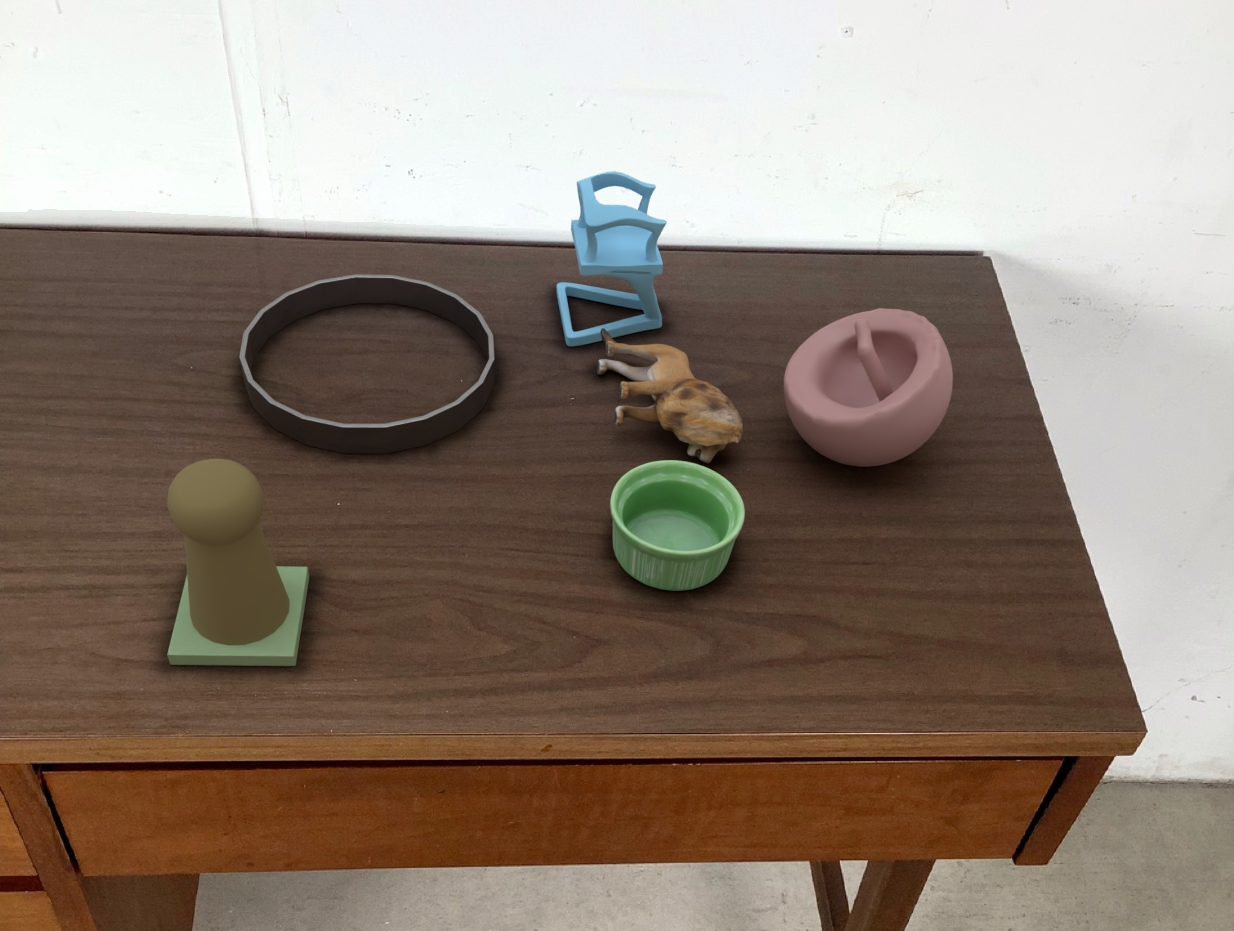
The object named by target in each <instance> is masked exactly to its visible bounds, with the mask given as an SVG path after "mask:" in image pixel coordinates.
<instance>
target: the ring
mask: <svg viewBox="0 0 1234 931" xmlns="http://www.w3.org/2000/svg"><path fill="white" fill-rule="evenodd" d="M356 304H385V305H387V304H390V305H398V306H403V307H408V308H413V309H417V310H423V311H427V312H429V313H432V314H434V315H436V316H438V317H441V318H442V319H445V320H447V321H449V322H452V323H454V324H456V325H457V326H458V327H459V328H460V329H462V330H463V331H464V332H465V333H467V334H468V335H469V336H470V337H472V338H473V340H475V341H476V343H477V344H478V346H479V347H480V349H481V351H482V353H483V355H484V356H485V359H486V360H487V362H486V364H485V366H484V368H483V370H482V373H481V374H480V377H479V378H478V380H477V381H476V383H474V384H473V385H472V386H471V387H470V388H468V390H466V391H465V392H464V393H463V394H462V395H461V396H459V397H458V398H457V399H456V400H454V401H453V402H450V403H448V404H446V405H444V406H441V407H438V408H437V409H435V410H433V411H431V412H428V413H427V414H424V415H419V416H415V417H411V418H406V419H401V420H396V421H391V422H386V423H342V422H338V421H333V420H329V419H324V418H320V417H315V416H310V415H306V414H303V413H301V412H299V411H297V410H295V409H293V408H291V407H289V406H287V405H285V404H283V403H280V402H279V401H277V400H275V399H274V398H273V397H272V396H270V395H269V394H268V392H267V391H265V389H264V388H262V387H261V386H260V385H259V384H258V383H257V382H256V381H255V380H254V378H253V375H252V371H253V364H254V359H255V358H256V357H257V355H259V352H260V351H261V350H262V349H263V347H264V346H265V344H266V342H267V341H268V340H269V338H271V337H272V336H274V335H275V334H277V333H278V332H280V331H281V330H283V329H284V328H285V327H287V326H288V325H290V324H291V323H292V322H295V321H297V320H299V319H301V318H305V317H306V316H310V315H312V314H315V313H317V312H320V311H322V310H326V309H333V308H337V307H344V306H350V305H356ZM494 343H495V341H494V334H493V333H492V331H491V329H490V327H489V326H488V324H487V322H486V320H485V319H484V316H483V315H482V313H480V311H478V310H477V309H476V308H474V306H472V305H470V303H469V302H467V301H466V300H465V299H463V298H462V297H461V296H459V295H458V294H456V293H454V292H453V291H450V290H447V289H445V288H442V287H440V286H438V285H435V284H433V283H431V282H429V281H424V280H419V279H413V278H411V277H410V278H409V277H404V276H400V275H394V274H355V273H354V274H349V275H342V276H338V277H331V278H330V277H329V278H324V279H318V280H316V281H312V282H310V283H308V284H306V285H303V286H300V287H297V288H294V289H292V290H289V291H287V292H284V293H283V294H282V295H279V297H277V298H275V299H274V300H273V301H271V302H270V303H269V304H267V305H266V306H264V307H262V308H261V309H260V310H259V311H258V312H257V314H256V315H255V316H254V318H253V319H252V320H251V322H250V323H249V325H248V326H247V327H246V329H245V330H244V332H243V334H242V339H241V344H240V349H239V350H240V351H239V357H238V358H239V364H240V368H241V373H242V374H241V375H242V379H243V380H242V381H243V384H244V387H245V389H246V392H247V393H246V394H247V396H248V399H249V400H250V404H251V407H252V409H254V410H255V411H256V413H257V414H258V415H259V416H261V417H262V418H263V420H264V421H265V422H267V423H268V424H269V425H270V427H271V428H273V429H274V430H275V431H277V432H279V433H281V434H283V435H285V436H287V437H289V438H291V439H294V440H295V441H297V442H299V443H301V444H303V445H305V446H309V447H314V448H318V449H323V450H327V451H332V452H337V453H342V454H346V455H347V454H348V455H349V454H392V453H396V452H401V451H406V450H411V449H415V448H420V447H425V446H428V445H430V444H432V443H434V442H436V441H439V440H441V439H443V438H445V437H447V436H450V435H452V434H453V433H455V432H457V431H460V430H461V429H463V428H464V427H465V426H466V425H467V424H468V423H469V422H470V421H471V420H473V418H474V417H475V416H477V415H478V414H479V413H480V412H481V411H482V410H483V409H484V407H485V405H486V403H487V402H488V399H489V396H490V394H492V390H493V389H494V387H495V344H494Z"/></svg>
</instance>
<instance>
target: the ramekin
mask: <svg viewBox="0 0 1234 931" xmlns="http://www.w3.org/2000/svg"><path fill="white" fill-rule="evenodd" d="M610 495H611V496H610V499H609V500H610V501H609V508H610V509H609V510H610V515H611V519H612V548H613V552H614V555H615V558H616V560H617V562H618V563H619V565H620V566H621V568H622V569H623V570H624V571H625V572H626V573H627V574H628V575H629V576H630V577H632V578H633V579H635V580H637V581H638V582H640V583H642V584H644V585H646V586H648V587H652V588H655V589H659V590H664V591H671V592H672V591H673V592H675V591H677V592H679V591H680V592H681V591H689V590H694V589H698V588H701V587H704V586H706V585H707V584H709V583H711V582H713V581H714V580H716V578H718V577H719V576H720V575H721V574H722V572H723V570H724V569H725V568H726V566H727V564H728V561H729V559H730V556H731V554H732V550H733V548H734V546H735V545H734V544H735V542H736V539H737V538H738V537H739V535H740V533H741V530H742V528H743V526H744V523H745V520H746V519H745V518H746V517H745V516H746V514H745V513H746V510H745V504H744V501H743V498H742V496H741V495H740V493H739V491H738V490H737V489H736V487H735V486H734V485H733V483H731V482H730V481H729V480H728V479H727V478H725V477H724V476H722V475H721V474H719V473H718V472H717V471H715V470H712V469H710V468H709V467H707V466H704V465H700V464H698V463H694V462H691V461H683V460H670V459H669V460H668V459H667V460H655V461H650V462H646V463H644V464H641V465H638V466H636V467H634V468H632V469H630V470H629V471H627V472H626V473H624V474H623V475H622V476H621V477H620V478H619V479H618V481H617V482H616V484H615V485H614V487H613V489H612V492H611V494H610Z"/></svg>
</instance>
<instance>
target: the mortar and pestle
mask: <svg viewBox="0 0 1234 931" xmlns="http://www.w3.org/2000/svg"><path fill="white" fill-rule="evenodd" d="M953 376H954V374H953V365H952V360H951V357H950V352H949V350H948V348H947V345H946V343H945V341H944V339H943V337H942V336H941V334H940V331H939V329H938V328H937V327H936V325H934V324H933V323H931V322H930V321H929V319H927V318H926V316H924V315H919V314H918V313H916V312H914V311H911V310H904V309H900V308H885V307H880V308H875V309H872V310H867V311H866V310H865V311H860V312H856V313H853V314H850V315H847V316H845V317H842V318H839V319H837V320H835V321H833V322H831V323H829V324H827V325H825V326H823V327H822V328H821V327H820V329H818V330H817V331H815V332H814V333H813V334H812V335H811V336H809V337H808V338H807V339H806V340H804V342H802V344H800V345H799V346H798V348H797V349H796V350H795V351H794V353H793V354H792V356H791V357H790V359H789V361H788V362H787V365H786V368H785V371H784V374H783V383H782V384H783V397H784V403H785V408H786V410H787V414H788V416H789V418H790V421H791V423H792V425H793V427H794V428H795V430H796V431H797V433H798V434H799V436H800V437H801V438H802V439H803V441H804V442H806V444H808V446H810V447H811V448H812V449H813V450H814V451H816V452H817V453H819V454H820V455H822V456H823V457H825V458H827V459H829V460H831V461H833V462H836V463H839V464H843V465H847V466H853V467H861V468H862V467H867V468H869V467H878V466H883V465H887V464H892V463H894V462H897V461H900V460H902V459H903V458H905V457H908V456H909V455H911V454H913V453H914V452H915V451H916V450H918V449H919V448H921V447H922V446H923V445H925V443H926V442H927V441H929V439H930V438H931V437H932V436H933V434H934V433H935V432H936V431H937V429H938V428H939V427H940V425H941V423H942V421H943V420H944V418H945V416H946V413H947V411H948V408H949V405H950V402H951V397H952V393H953V384H954V383H953V382H954V377H953Z"/></svg>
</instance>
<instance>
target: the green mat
mask: <svg viewBox="0 0 1234 931" xmlns="http://www.w3.org/2000/svg"><path fill="white" fill-rule="evenodd" d="M276 567H277V570H278V572H279V575H280V577H281V580H282V582H283V585H284V587H285V590H286V592H287V595H288V598H289V600H290V605H289V613H288V615H287V617H286V619H285V621H284V623H283V624H282V625H281V626H280V627H279V628H278V629H277V630H276V631H275V632H274V633H273V634H271V635H269V636H267V637H266V638H264V639H262V640H260V641H257V642H253V643H249V644H246V645H224V644H219V643H214V642H212V641H210V640H208V639H206V638H205V637H203V636H201V635H200V633H199V632H198V631H197V630H196V629H195V628H194V627H193V624H192V620H191V617H190V607H189V593H188V579H187V575H186V577H185V581H184V585H183V589H182V592H181V596H180V601H179V604H178V610H177V614H176V618H175V622H174V624H173V630H172V634H171V637H170V641H169V646H168V650H167V654H166V656H167V658H168V661H169V665H171V666H241V667H242V666H244V667H245V666H246V667H247V666H248V667H249V666H251V667H253V666H255V667H256V666H257V667H296V666H297V659H298V653H299V647H300V640H301V633H302V626H303V621H304V620H303V619H304V615H305V609H306V608H305V607H306V602H307V601H306V600H307V594H308V589H309V582H310V572H309V567H308V566H285V565H282V566H281V565H280V566H279V565H276Z"/></svg>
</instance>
